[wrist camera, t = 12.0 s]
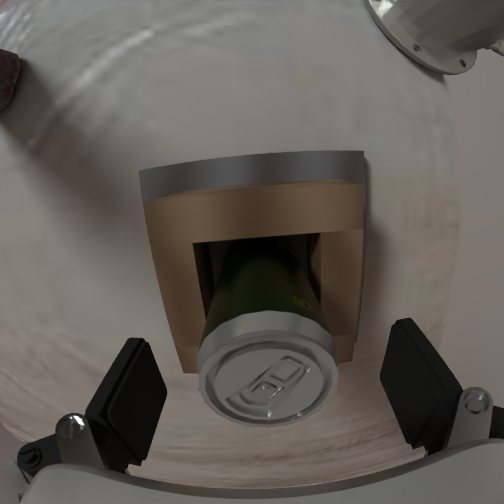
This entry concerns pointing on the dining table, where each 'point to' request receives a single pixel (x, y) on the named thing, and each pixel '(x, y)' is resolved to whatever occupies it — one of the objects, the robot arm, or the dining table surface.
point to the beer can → (265, 339)
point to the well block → (257, 232)
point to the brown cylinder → (8, 75)
